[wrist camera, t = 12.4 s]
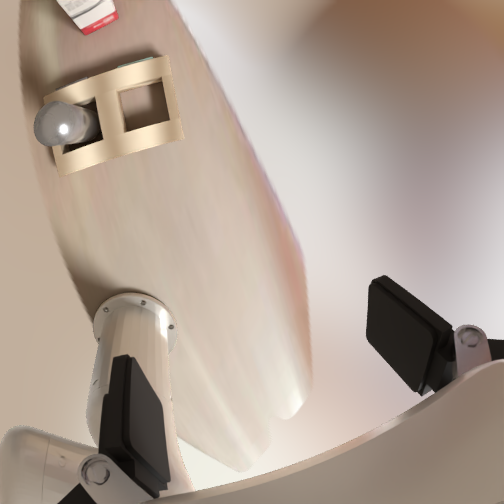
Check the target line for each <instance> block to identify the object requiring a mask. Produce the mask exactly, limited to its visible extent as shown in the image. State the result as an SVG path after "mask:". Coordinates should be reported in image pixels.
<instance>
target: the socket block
mask: <svg viewBox="0 0 504 504" xmlns="http://www.w3.org/2000/svg"><path fill="white" fill-rule="evenodd" d="M117 67H118V68H117V69H114V70H111V71H108V72H105V73H102V74H99V75H96V76H93V77H90V78H88V77H85V78H82V79H80V80H77V81H74V82H72V83H69V84H67V85H64V86H62V87H60V88H57V89H56V91H55V92H53V93H51V94H48V95H46V96H44V97H43V101H44V105H46V104H47V103H49V102H52V101H61V102H65V103H69V104H72V105H75V106H79V107H80V106H83V105H86V104H89V103H91V102H94V101H96V104H97V110H98V115H99V120H100V125H101V130H102V134H103V139H104V140H101V141H98V142H95V143H93V144H90V145H87V146H84V147H81V148H79V149H76V150H74V151H71V152H70V148H69V144H66V145H58V146H52V149H53V154H54V158H55V162H56V166H57V170H58V174H59V178H60V177H63V176H66V175H68V174H71V173H73V172H76V171H79V170H82V169H84V168H87V167H90V166H93V165H96V164H99V163H102V162H105V161H108V160H111V159H114V158H117V157H120V156H123V155H127V154H130V153H133V152H137V151H140V150H143V149H147V148H150V147H154V146H158V145H162V144H165V143H169V142H173V141H177V140H181V139H184V134H183V129H182V125H181V120H180V115H179V110H178V104H177V99H176V94H175V89H174V84H173V78H172V73H171V67H170V62H169V56H168V55H167V56H162V57H158V58H154V59H153V57H150V58H146V59H142V60H138V61H134V62H131V63H127V64H124V65H121V66H117ZM158 82H163V87H164V93H165V98H166V103H167V108H168V113H169V118H170V120H169V121H165V122H162V123H158V124H154V125H150V126H147V127H143V128H140V129H136V130H133V131H129V132H127V127H126V123H125V118H124V113H123V107H122V102H121V97H120V93H121V92H125V91H128V90H132V89H135V88H139V87H142V86H146V85H150V84H154V83H158Z"/></svg>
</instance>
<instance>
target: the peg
mask: <svg viewBox="0 0 504 504" xmlns="http://www.w3.org/2000/svg"><path fill="white" fill-rule="evenodd" d="M100 128H101V125H100V120H99V116H98V114H97V113H96V112H94V111H92V110H89V109H85V108H82V107H79V106H75V105H72V104H69V103H65V102H61V101H52V102H49V103H47V104H46V105H44V106H43V107H42V108H41V109H40V110H39V112H38V114H37V115H36V118H35V121H34V133H35V136H36V138H37V140H38V141H39V142H40V143H41V144H43V145H45V146H58V145H66V144H74V143H83V142H89V141H91V140H93V139H94V138H95V137H96V136H97V135H98V133H99V131H100Z"/></svg>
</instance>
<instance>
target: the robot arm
mask: <svg viewBox="0 0 504 504" xmlns="http://www.w3.org/2000/svg"><path fill="white" fill-rule="evenodd" d="M143 300H144V301H143ZM93 332H94V335H95V338H96V340H97V342H98V344H99V346H98V350H97V355H96V360H95V364H94V369H93V374H92V380H91V385H90V391H89V396H88V402H87V409H86V418H87V424H88V428H89V431H90V434H91V436H92V438H93V440H94V442H95V444H96V445H97V447H98V448H94V447H91V446H88V445H85V444H81V443H78V442H75V441H72V440H69V439H66V438H63V437H60V436H57V435H54V434H51V433H48V432H45V431H43V430H40V429H37V428H34V427H30V426H15V427H13V428H11V429H9V430H8V432H7V433H6V434H5V435H4V437H3V439H2V441H1V444H0V504H504V340H496V339H487V337H486V334H485V333H484V331H483V330H482V329H480V328H479V327H477V326H474V325H462V326H460V327H458V328H457V329H456V331H453V330H452V325H450V324H449V323H448V322H447V321H445V320H444V319H443V318H442V317H440V316H439V315H438V314H436V313H435V312H434V311H433V310H431V309H430V308H429V307H428V306H426V305H425V304H424V303H422V302H421V301H420V300H418V299H417V298H416V297H414V296H413V295H412V294H411V293H409V292H408V291H407V290H405V289H404V288H403V287H401V286H400V285H398V284H397V283H395V282H394V281H393V280H392V279H390V278H389V277H388V276H386V275H383V276H381V277H378V278H376V279H373V280H372V282H371V284H370V285H369V292H368V312H367V327H366V337H367V340H368V342H369V343H370V344H371V345H372V346H373V347H374V348H375V350H376V351H377V352H378V353H379V354H380V355H381V356H382V357H383V358H384V359H385V361H386V362H387V363H388V364H389V365H390V366H391V367H392V368H393V369H394V371H395V372H396V373H397V374H398V375H399V376H400V377H401V378H402V379H403V381H404V382H405V383H406V384H407V385H408V386H409V387H410V388H411V390H412V391H414V392H418V393H419V394H420V395H421V396H423V395H424V394H426V393H428V392H429V391H431V390H433V391H434V392H435V393H434V394H433V395H431V396H430V397H428V398H427V399H425V400H423V401H422V402H420V403H419V404H417V405H416V406H414V407H412V408H411V409H409V410H407V411H406V412H404V413H402V414H401V415H399V416H397V417H396V418H394V419H392V420H390V421H388V422H386V423H384V424H383V425H381V426H379V427H377V428H375V429H373V430H371V431H369V432H367V433H365V434H363V435H361V436H359V437H357V438H355V439H353V440H351V441H349V442H347V443H344V444H342V445H340V446H338V447H335V448H333V449H331V450H329V451H326V452H324V453H321V454H319V455H316V456H314V457H311V458H309V459H306V460H304V461H301V462H298V463H295V464H293V465H290V466H287V467H284V468H281V469H278V470H275V471H272V472H269V473H266V474H263V475H259V476H256V477H252V478H249V479H245V480H241V481H238V482H233V483H229V484H225V485H221V486H217V487H212V488H208V489H203V490H198V491H195V489H194V486H193V484H192V482H191V479H190V477H189V475H188V473H187V470H186V468H185V465H184V462H183V459H182V456H181V453H180V450H179V445H178V440H177V435H176V429H175V421H174V413H173V404H172V394H171V383H170V371H169V358H168V355H169V354H170V352H171V351H172V350H173V349H174V347H175V345H176V342H177V337H178V330H177V324H176V321H175V318H174V316H173V315H172V313H171V311H170V310H169V309H168V308H167V307H166V306H165V305H164V304H163V303H161V302H160V301H159V300H157V299H155V298H153V297H151V296H148V295H145V294H140V293H122V294H118V295H115V296H113V297H110V298H109V299H107V300H106V301H104V302H103V303H102V305H101V306H100V307H99V308H98V310H97V312H96V315H95V317H94V322H93Z"/></svg>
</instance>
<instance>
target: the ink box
mask: <svg viewBox="0 0 504 504" xmlns="http://www.w3.org/2000/svg"><path fill="white" fill-rule="evenodd" d="M56 1H57V2H58V3H59V4H60V6H61V7H62V8H63V9H64V10H65V12H66V13H67V14H68V15H69V16H70V18H71V19H72V20H73V21H74V22H75V24H76V25H77V26H78V27H79V28H80V30H81V31H82V32H83V33H84V35H88V34H90V33H92V32H94V31H96V30H98V29H100V28H102V27H104V26H106V25H108V24H110V23H111V22H113V21H115V20H117V19H119V17H118V14H117V11H116V8H115V5H114V3H113V0H56Z"/></svg>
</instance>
